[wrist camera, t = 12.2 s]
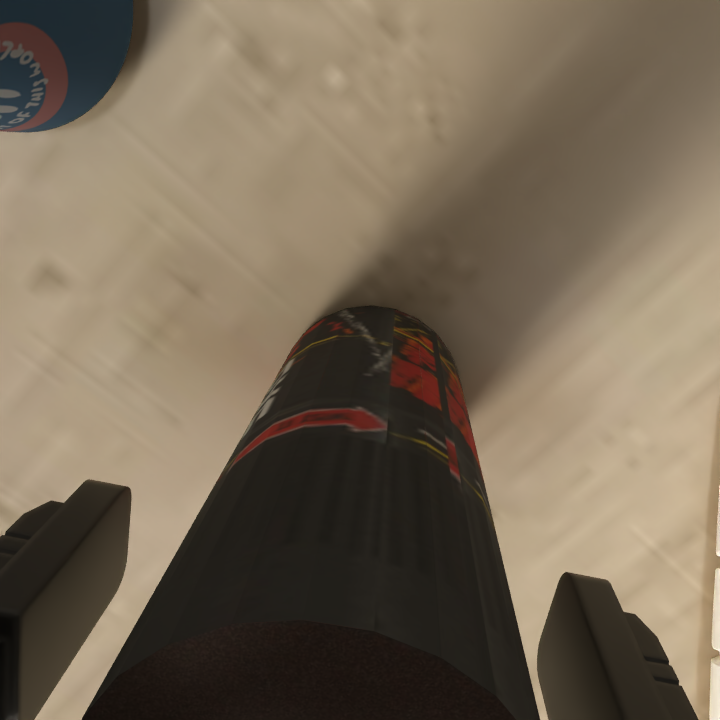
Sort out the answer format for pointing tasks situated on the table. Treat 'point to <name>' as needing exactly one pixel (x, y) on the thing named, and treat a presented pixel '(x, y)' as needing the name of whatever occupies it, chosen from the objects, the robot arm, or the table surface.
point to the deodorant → (337, 555)
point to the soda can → (58, 58)
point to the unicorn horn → (716, 637)
